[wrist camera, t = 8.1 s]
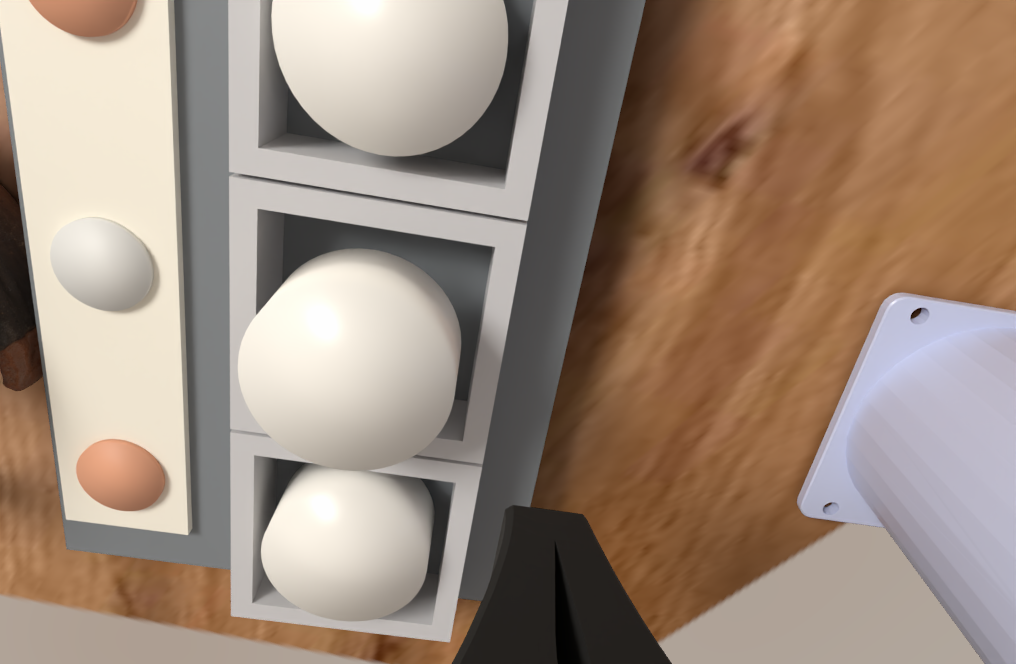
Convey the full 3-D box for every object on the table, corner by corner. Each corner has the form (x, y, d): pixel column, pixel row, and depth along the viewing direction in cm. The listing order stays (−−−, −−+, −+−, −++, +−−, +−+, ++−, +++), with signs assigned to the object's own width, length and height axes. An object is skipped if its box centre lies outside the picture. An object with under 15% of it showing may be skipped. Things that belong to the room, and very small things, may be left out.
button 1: (524, -64, 14) (527, -76, 12) (490, 155, 16) (488, 173, 14) (306, -106, 13) (274, -125, 12) (297, 122, 15) (268, 136, 13)
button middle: (474, 265, 15) (469, 300, 13) (448, 432, 17) (441, 483, 15) (271, 233, 15) (237, 264, 13) (267, 407, 16) (237, 455, 15)
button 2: (443, 461, 19) (436, 507, 17) (425, 576, 21) (417, 630, 19) (286, 439, 19) (262, 484, 17) (281, 558, 21) (259, 611, 19)
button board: (651, -92, 16) (694, -124, 12) (508, 560, 24) (508, 656, 20) (25, -218, 15) (-132, -293, 11) (101, 507, 23) (25, 598, 19)
